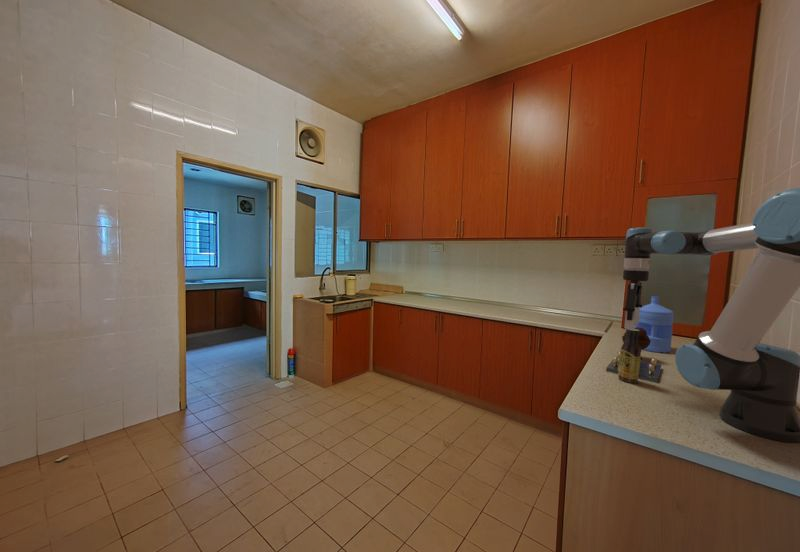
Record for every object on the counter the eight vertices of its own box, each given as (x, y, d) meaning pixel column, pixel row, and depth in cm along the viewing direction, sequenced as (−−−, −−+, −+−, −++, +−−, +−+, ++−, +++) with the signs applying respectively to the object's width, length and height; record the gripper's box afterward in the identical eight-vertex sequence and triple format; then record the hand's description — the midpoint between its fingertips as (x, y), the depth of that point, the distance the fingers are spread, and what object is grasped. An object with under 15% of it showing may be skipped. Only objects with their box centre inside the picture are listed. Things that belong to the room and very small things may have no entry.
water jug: (632, 343, 174) (635, 294, 172) (668, 348, 165) (673, 296, 163) (633, 349, 161) (637, 296, 160) (672, 355, 152) (677, 299, 150)
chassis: (656, 382, 115) (657, 369, 115) (606, 371, 126) (607, 359, 126) (661, 368, 131) (661, 357, 131) (615, 359, 142) (616, 348, 142)
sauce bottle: (613, 377, 120) (617, 326, 119) (630, 377, 120) (634, 327, 118) (625, 383, 113) (629, 330, 112) (643, 384, 113) (647, 331, 112)
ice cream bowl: (650, 358, 146) (652, 327, 145) (648, 363, 138) (650, 330, 137) (622, 353, 153) (625, 323, 152) (619, 357, 145) (621, 326, 144)
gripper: (645, 270, 103) (640, 333, 104) (652, 270, 121) (647, 323, 122) (618, 269, 108) (613, 329, 109) (628, 269, 126) (624, 320, 127)
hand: (631, 326), depth 115 cm, fingers open, 13 cm apart
